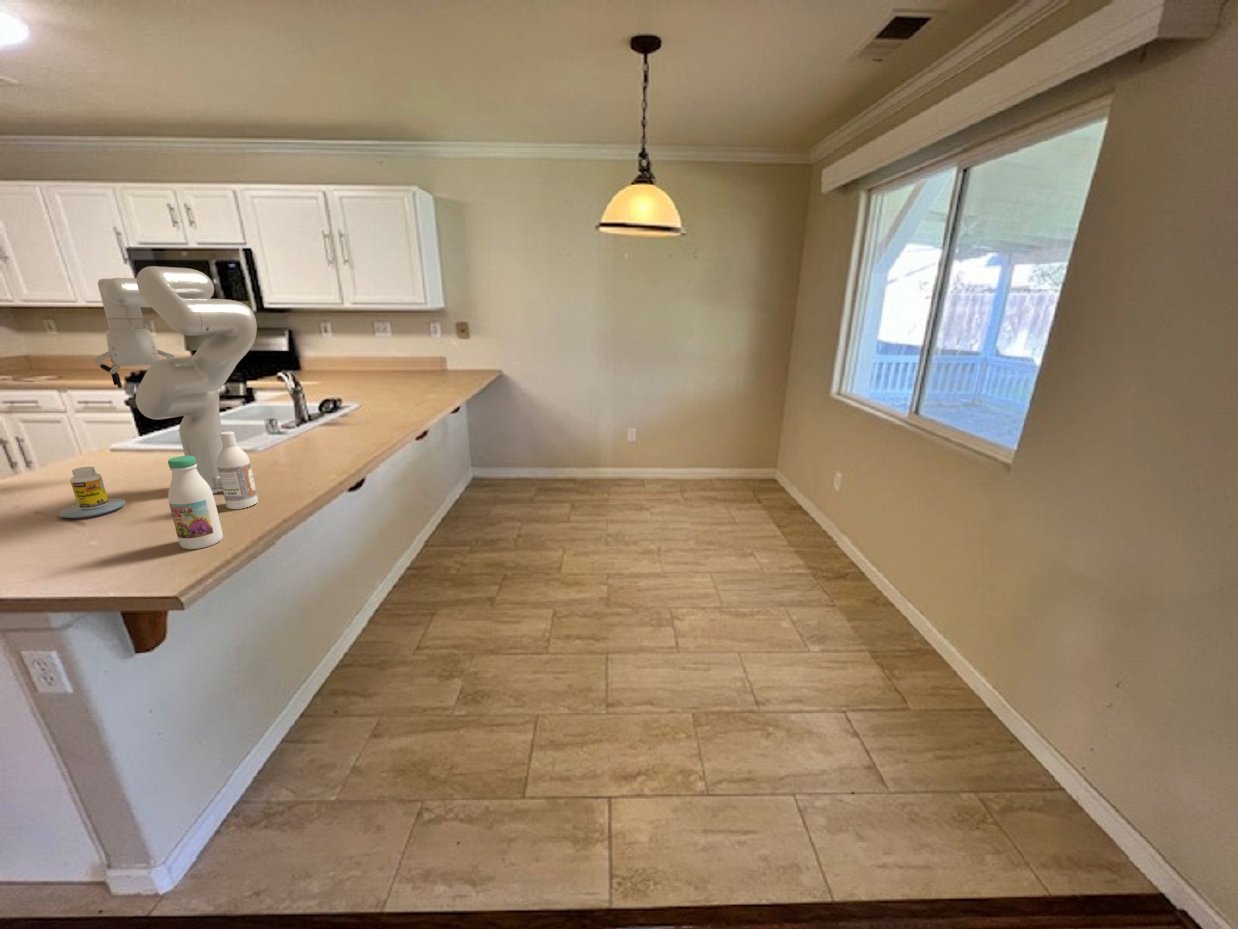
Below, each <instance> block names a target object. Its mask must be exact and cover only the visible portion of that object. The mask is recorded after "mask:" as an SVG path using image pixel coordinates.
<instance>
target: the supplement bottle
mask: <svg viewBox="0 0 1238 929" xmlns="http://www.w3.org/2000/svg"><path fill="white" fill-rule="evenodd" d="M95 469H96V468H95V467H94V466H81V467H77V468H74V469H71V473H72V476H73V477H71V478H70V486H71V487H72V491H73V494H74V497H75V500H76V503H77V504H78V507H79V508H80V509H83V510H90V509H96V508H100V507H103V506H106V505H107V504H108V503H109V501H108V499H109V498H108V496H107V495H108V494H107V491H106V487H105V485H104V480H103V477H102V475H101V474H100V473H98V472H96V470H95Z"/></svg>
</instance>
